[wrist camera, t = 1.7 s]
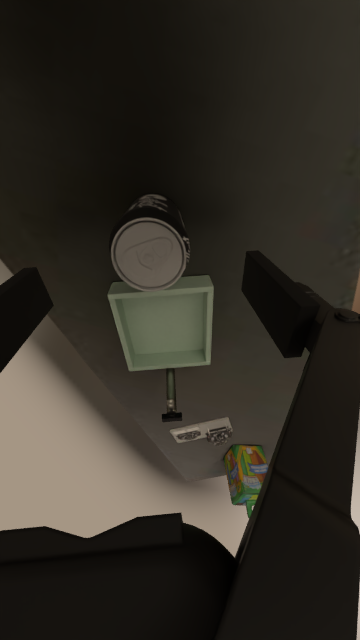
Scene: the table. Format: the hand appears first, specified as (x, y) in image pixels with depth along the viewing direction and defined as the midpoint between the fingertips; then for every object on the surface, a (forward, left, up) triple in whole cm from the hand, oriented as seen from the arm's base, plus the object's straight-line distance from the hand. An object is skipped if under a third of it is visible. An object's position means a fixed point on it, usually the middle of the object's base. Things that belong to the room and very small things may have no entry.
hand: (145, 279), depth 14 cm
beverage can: (0, 0, -15) cm, 15 cm away
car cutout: (+50, +6, -15) cm, 52 cm away
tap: (+23, 0, -15) cm, 27 cm away
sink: (+14, 0, -15) cm, 21 cm away
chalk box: (+65, +18, -15) cm, 69 cm away
